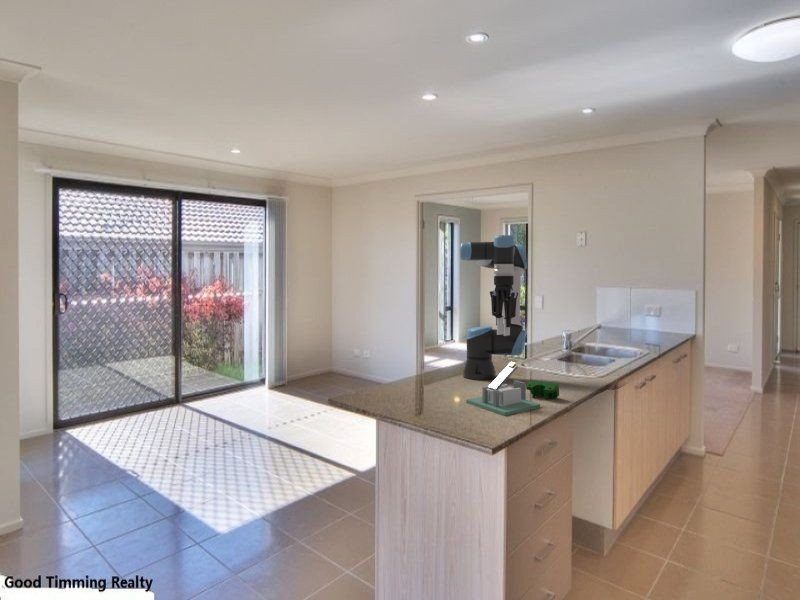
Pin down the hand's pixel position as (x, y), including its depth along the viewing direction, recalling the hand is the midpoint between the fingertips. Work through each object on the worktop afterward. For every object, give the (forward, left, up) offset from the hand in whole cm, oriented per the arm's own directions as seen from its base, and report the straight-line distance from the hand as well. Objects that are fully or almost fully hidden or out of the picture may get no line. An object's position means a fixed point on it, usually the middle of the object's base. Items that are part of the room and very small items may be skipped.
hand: (503, 334), depth 197 cm
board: (+9, +9, -25) cm, 28 cm away
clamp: (-11, +10, -25) cm, 29 cm away
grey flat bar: (+8, +9, -14) cm, 19 cm away
